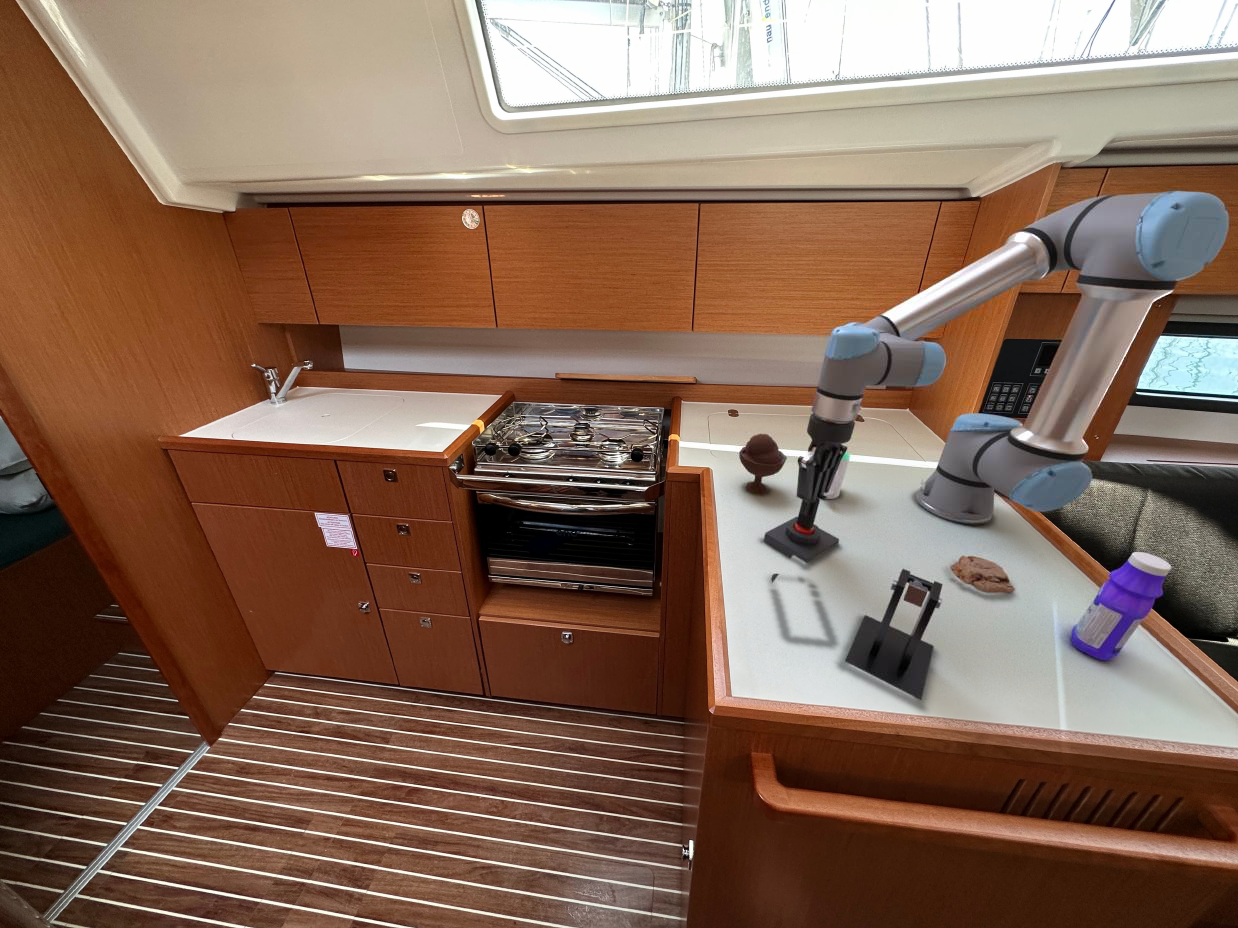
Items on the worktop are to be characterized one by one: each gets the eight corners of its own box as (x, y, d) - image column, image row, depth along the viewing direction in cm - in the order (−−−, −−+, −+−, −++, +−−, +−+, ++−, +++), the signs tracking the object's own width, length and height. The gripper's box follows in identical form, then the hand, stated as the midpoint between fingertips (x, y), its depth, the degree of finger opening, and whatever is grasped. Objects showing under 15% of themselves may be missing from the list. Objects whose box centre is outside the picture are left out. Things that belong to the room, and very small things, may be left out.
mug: (846, 509, 110) (858, 470, 105) (810, 504, 111) (820, 465, 106) (835, 484, 120) (845, 447, 116) (802, 480, 122) (811, 444, 117)
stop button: (800, 526, 98) (802, 519, 97) (815, 535, 95) (817, 528, 94) (789, 532, 96) (791, 525, 95) (805, 541, 93) (807, 534, 93)
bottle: (1073, 624, 79) (1128, 541, 71) (1119, 646, 75) (1182, 560, 67) (1063, 645, 75) (1120, 559, 67) (1110, 669, 71) (1177, 581, 63)
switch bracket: (862, 620, 79) (889, 549, 72) (931, 651, 73) (966, 577, 66) (842, 666, 70) (870, 590, 63) (918, 705, 65) (957, 627, 58)
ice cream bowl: (781, 502, 111) (794, 445, 104) (733, 496, 113) (743, 439, 106) (777, 481, 121) (789, 427, 114) (733, 476, 122) (742, 422, 116)
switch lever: (897, 580, 76) (902, 567, 76) (932, 595, 73) (938, 581, 73) (892, 595, 66) (898, 579, 66) (932, 612, 63) (939, 596, 63)
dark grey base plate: (794, 524, 103) (798, 509, 101) (836, 547, 96) (841, 531, 94) (763, 541, 97) (766, 525, 95) (805, 567, 90) (810, 550, 88)
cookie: (1002, 571, 91) (1009, 558, 90) (1017, 606, 83) (1024, 593, 81) (943, 556, 95) (949, 544, 94) (952, 588, 86) (958, 576, 85)
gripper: (832, 431, 78) (801, 546, 88) (872, 416, 85) (839, 524, 96) (793, 416, 83) (768, 527, 94) (833, 403, 90) (806, 507, 101)
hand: (804, 525), depth 95 cm, fingers closed
